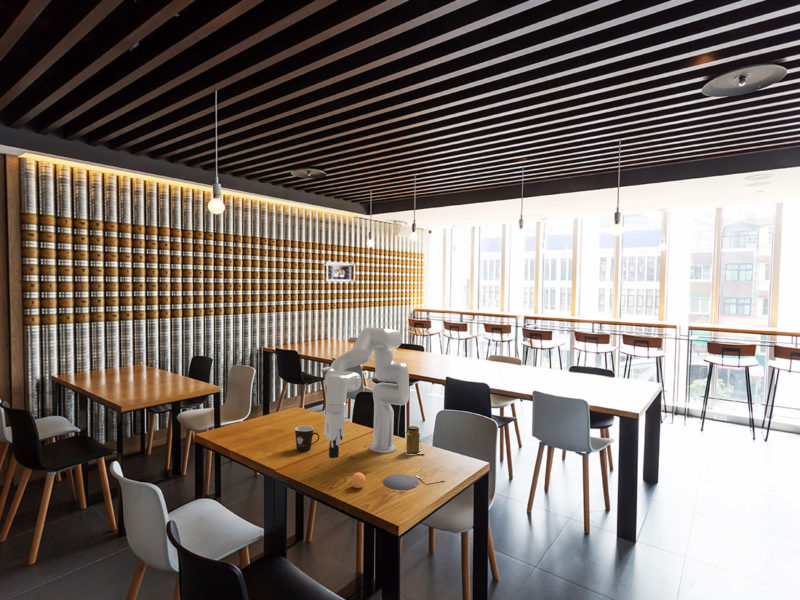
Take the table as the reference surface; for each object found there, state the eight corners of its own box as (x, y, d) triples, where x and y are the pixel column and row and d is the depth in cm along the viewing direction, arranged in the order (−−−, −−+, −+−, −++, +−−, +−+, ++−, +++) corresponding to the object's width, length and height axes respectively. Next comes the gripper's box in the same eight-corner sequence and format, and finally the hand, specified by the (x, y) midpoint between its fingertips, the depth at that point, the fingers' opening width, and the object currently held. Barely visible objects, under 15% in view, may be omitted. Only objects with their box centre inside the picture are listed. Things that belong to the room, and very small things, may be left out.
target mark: (377, 477, 174) (377, 477, 174) (408, 472, 180) (408, 472, 180) (392, 492, 161) (392, 491, 161) (425, 486, 167) (425, 485, 167)
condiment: (404, 450, 207) (405, 425, 207) (422, 450, 208) (423, 425, 208) (406, 455, 200) (407, 429, 200) (424, 455, 201) (425, 429, 201)
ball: (348, 485, 165) (349, 471, 165) (362, 483, 168) (362, 469, 168) (353, 491, 160) (354, 476, 160) (367, 489, 163) (368, 474, 163)
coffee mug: (290, 449, 203) (291, 427, 203) (306, 445, 209) (307, 424, 209) (304, 456, 194) (305, 434, 194) (320, 452, 200) (321, 430, 200)
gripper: (320, 403, 166) (318, 451, 166) (332, 413, 153) (329, 465, 152) (339, 402, 169) (337, 449, 169) (352, 411, 156) (349, 462, 156)
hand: (333, 457), depth 161 cm, fingers closed
